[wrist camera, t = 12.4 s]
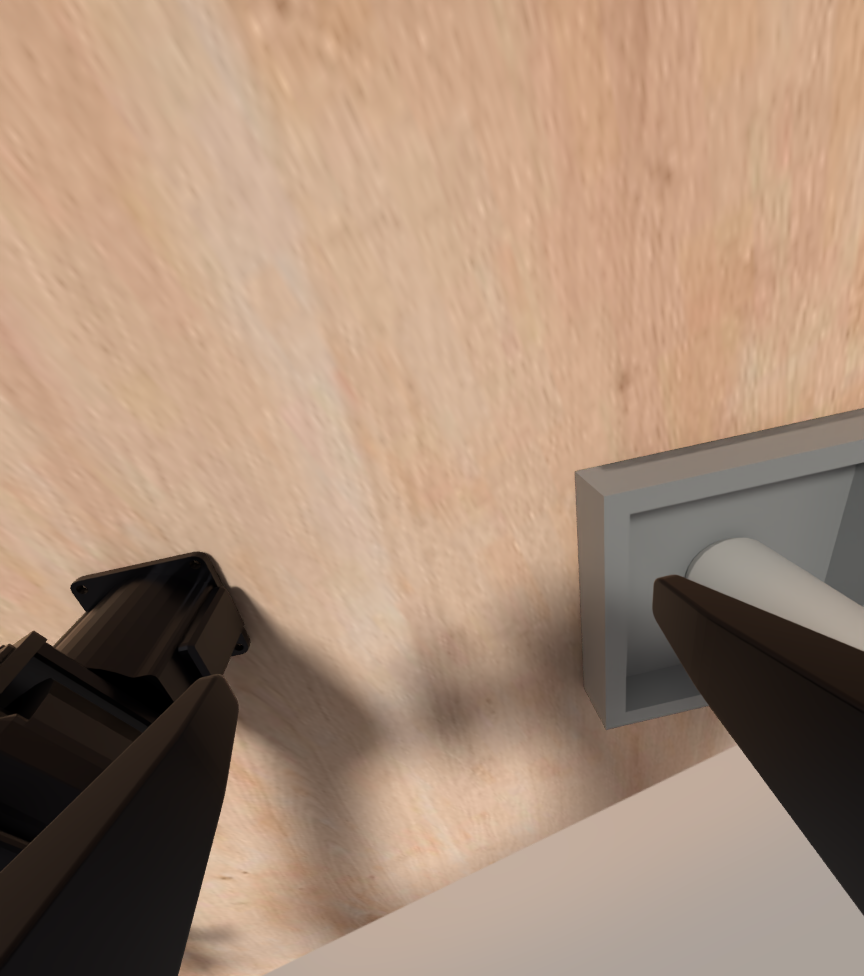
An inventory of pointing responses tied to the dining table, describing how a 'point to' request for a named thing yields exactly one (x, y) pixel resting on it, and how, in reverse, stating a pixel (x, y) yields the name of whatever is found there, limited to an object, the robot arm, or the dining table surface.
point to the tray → (706, 542)
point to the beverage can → (778, 588)
